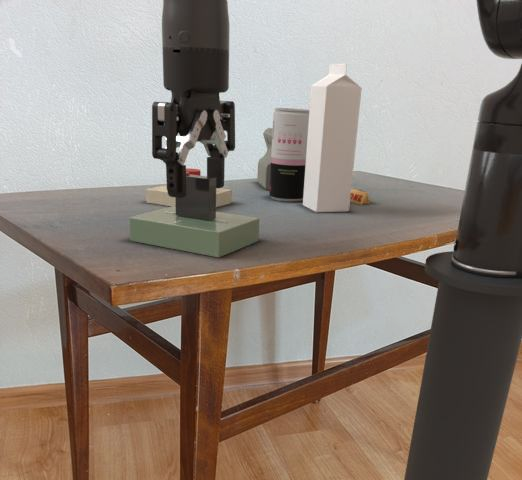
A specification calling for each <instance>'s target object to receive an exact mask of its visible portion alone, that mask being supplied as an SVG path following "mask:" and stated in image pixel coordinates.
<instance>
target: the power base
mask: <svg viewBox="0 0 522 480" xmlns="http://www.w3.org/2000/svg"><path fill="white" fill-rule="evenodd" d="M232 193H233V190H232V189H226V188H216V208H220V207H224V206H226V205H230V204H232V200H233V199H232V198H233V194H232ZM145 196H146V198H145V199H146V203H147V204H153V205H160V206H166V207H172V206H176V201H175V197H170V196H169V195H168V191H167V184H165V185H159V186H155V187H149V188H146V190H145Z"/></svg>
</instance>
